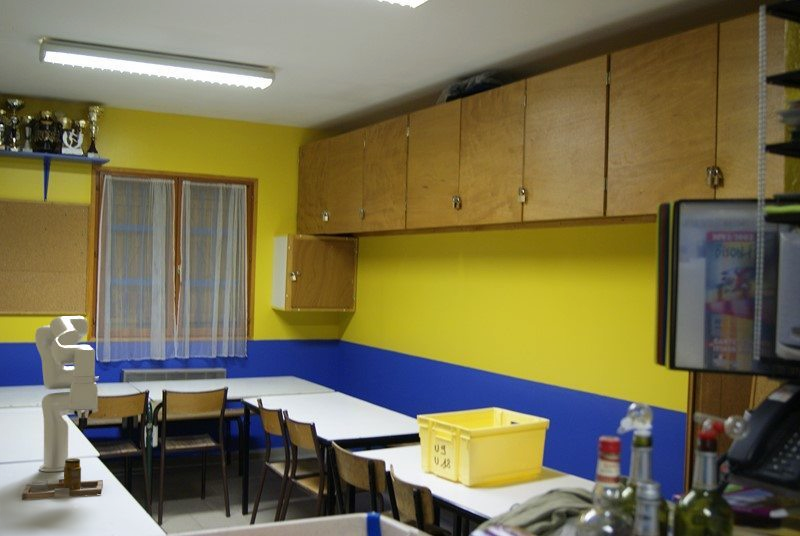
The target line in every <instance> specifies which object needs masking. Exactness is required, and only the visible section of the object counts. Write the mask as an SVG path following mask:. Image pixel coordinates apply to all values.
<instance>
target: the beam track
mask: <svg viewBox="0 0 800 536" xmlns="http://www.w3.org/2000/svg"><path fill="white" fill-rule="evenodd" d="M96 486H97V487H96ZM103 486H104V481H103V479H98V480H97V479H96V480H83V481H82V480H81V487H83V488H85V489H83V488H82V489H80V490H69V488H64V478H58V482H51V483H50V482H49V483H48V480H44V481H32V483H30V484H26V487H25V488H24V490H23V491H22V495H21V498H22V499H21V500H24V501H26V500H37V499H38V500H40V499H52V498H53V499H66V498H65V497H68V498H70V497H83V496H85V495H88V496H98V495H97V494H101V495H102V492H103V491H102V490H103ZM49 489H51V490H50V491H49ZM52 490H53V491H52ZM85 497H86V496H85Z"/></svg>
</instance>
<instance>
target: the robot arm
mask: <svg viewBox="0 0 800 536" xmlns="http://www.w3.org/2000/svg"><path fill="white" fill-rule="evenodd" d="M88 331H89V325H88V321H87V319H86V318H85V317H84V316H81V315H69V316H68V315H65V316H57V317H55V318H53V319H52V320H51V322H50V323H49V324H48V325H43V326H40V327H38V328H37V329H36V330H35V333H34V334H35V336H34V338H35V340H34V341H35V345H36V348H37V351H38V353H39V355H40V356H39V357H40V358H41V359H40V360H41V365H42V366H41V368H42V369H41V370H42V376H43V379H42V380H43V384H44V385H43V386H44V387H45V389H46V390H48V391H57V390H58V391H60V390H69V391H63V392H52V393H51V392H50V393H48V394H46V395H44V396H43V398H42V399H41V400H42V401H41V408H42V409H41V411H42V414H43V464H41V465H39V471H41V472H44V473H45V472H46V473H48V472H49V473H53V472H54V473H55V472H56V473H57V472H62V471H63V472H64V467H65V460H67V459H69V425H68V422H67V421H66V420H65V419H64V418H63V416H66V415H75V416H76V417H77V418H78V426H79V427H80V429H86V426H88V417H90V416H91V414H93V413H94V414H95V413H98V412H99V408H98V407H99V405H98V404H99V402H98V401H99V396H98V395H99V394H98V384H97V382H96V381H99V376H96V374H95V371H96V370H95V369H96V368H95V366H96V365H95V363H96V358H95V357H96V351H95V349H94V348H93V347H92V346H91V345H89V344H79V343H80V341H81V340H83V339H84V338H85V336H86V335H87V333H88ZM81 342H82V341H81ZM69 365H71V366H69ZM84 412H85V413H84ZM83 413H84V416H83Z"/></svg>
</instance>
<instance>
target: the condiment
mask: <svg viewBox="0 0 800 536" xmlns="http://www.w3.org/2000/svg"><path fill="white" fill-rule="evenodd" d="M63 479H64V488H69V490H80V488H81V481H82V467H81V459H80V458H74V457H72V458H71V457H70V458H68V459H67V460H65V467H64V471H63Z"/></svg>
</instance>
